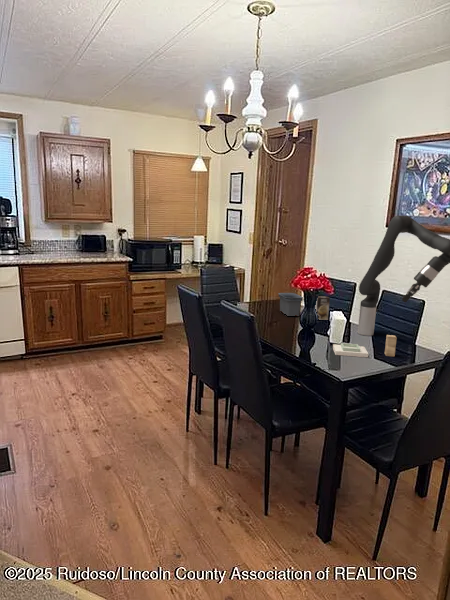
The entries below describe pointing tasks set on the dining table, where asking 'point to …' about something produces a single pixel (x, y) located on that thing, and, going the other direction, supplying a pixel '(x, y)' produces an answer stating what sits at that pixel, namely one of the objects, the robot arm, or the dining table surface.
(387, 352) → the birch pillar block
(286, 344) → the dining table surface
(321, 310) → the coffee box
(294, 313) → the storage bin
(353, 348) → the socket base
